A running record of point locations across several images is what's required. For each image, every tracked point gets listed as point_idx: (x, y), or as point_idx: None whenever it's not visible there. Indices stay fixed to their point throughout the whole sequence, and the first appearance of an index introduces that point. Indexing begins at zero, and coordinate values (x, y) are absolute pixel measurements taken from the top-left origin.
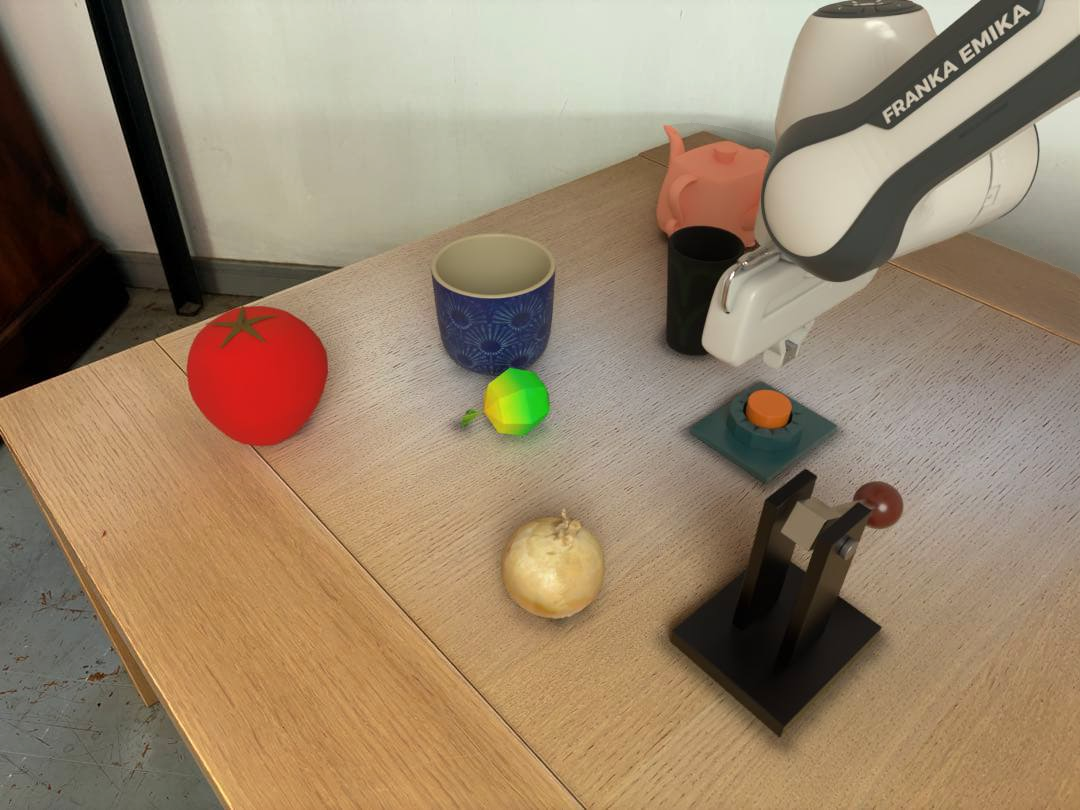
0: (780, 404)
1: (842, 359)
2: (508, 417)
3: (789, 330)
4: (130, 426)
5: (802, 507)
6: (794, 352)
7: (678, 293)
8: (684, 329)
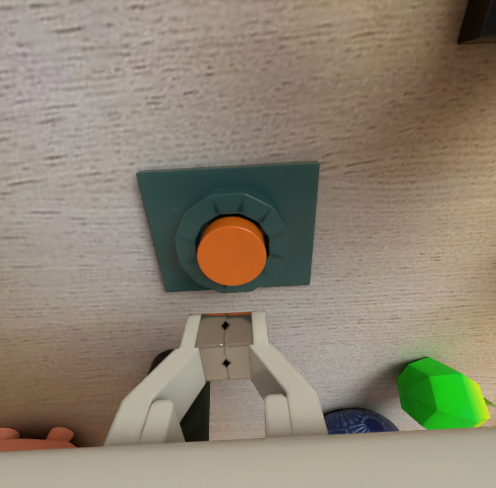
0: (220, 247)
1: (20, 262)
2: (478, 390)
3: (374, 482)
4: None
5: None
6: (207, 329)
7: None
8: (205, 395)
